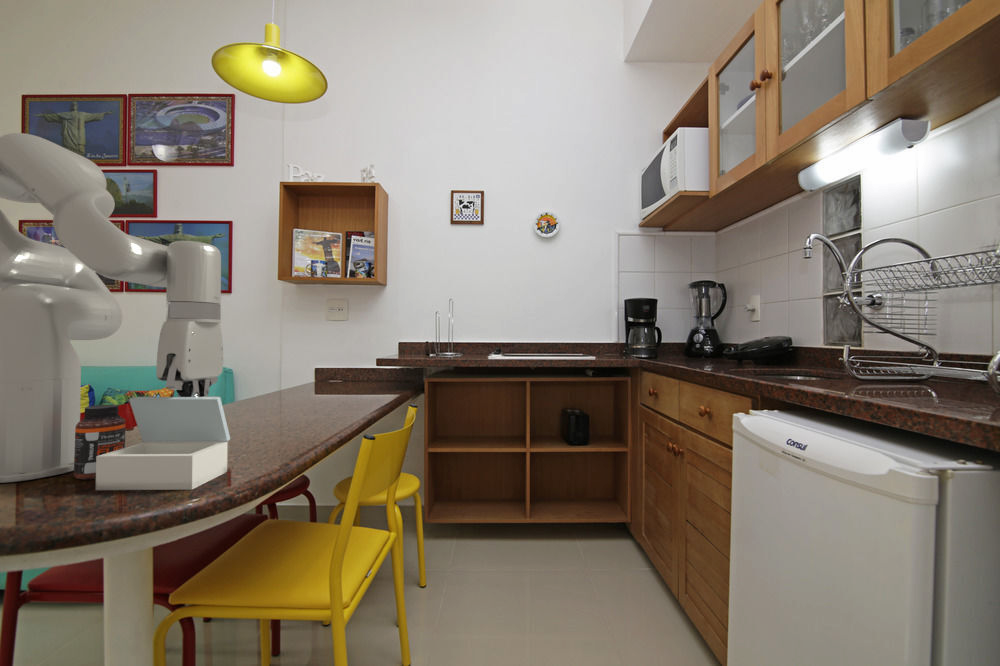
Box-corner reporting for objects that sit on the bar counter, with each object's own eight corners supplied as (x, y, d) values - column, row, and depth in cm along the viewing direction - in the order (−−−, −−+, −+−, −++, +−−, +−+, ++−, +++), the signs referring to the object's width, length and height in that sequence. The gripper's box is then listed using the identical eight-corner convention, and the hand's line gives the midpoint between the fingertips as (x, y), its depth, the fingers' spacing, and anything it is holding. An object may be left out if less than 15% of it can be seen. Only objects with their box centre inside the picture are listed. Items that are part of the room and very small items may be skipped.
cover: (128, 399, 65) (136, 395, 66) (142, 441, 68) (149, 437, 69) (217, 399, 65) (222, 395, 67) (227, 441, 68) (232, 436, 69)
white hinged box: (95, 490, 59) (96, 456, 60) (142, 472, 67) (142, 442, 68) (192, 489, 60) (192, 455, 60) (227, 471, 68) (227, 442, 68)
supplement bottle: (99, 481, 63) (100, 409, 63) (62, 481, 63) (63, 409, 64) (134, 469, 69) (135, 403, 69) (100, 468, 69) (101, 403, 70)
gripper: (202, 316, 77) (201, 412, 77) (134, 311, 62) (133, 430, 62) (242, 316, 77) (241, 412, 77) (184, 311, 62) (183, 430, 62)
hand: (193, 420), depth 69 cm, fingers closed
